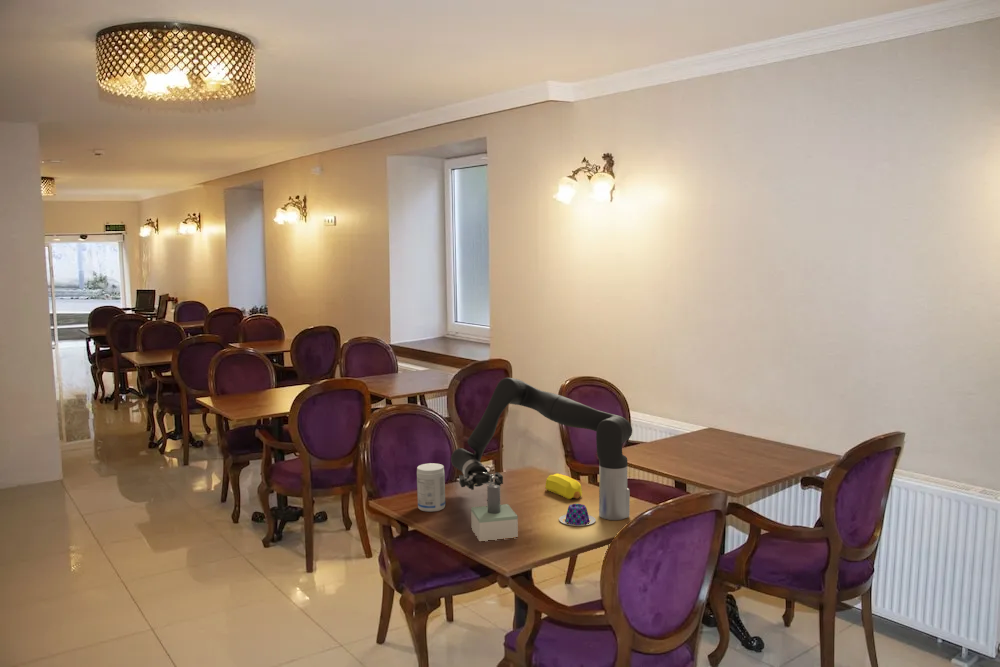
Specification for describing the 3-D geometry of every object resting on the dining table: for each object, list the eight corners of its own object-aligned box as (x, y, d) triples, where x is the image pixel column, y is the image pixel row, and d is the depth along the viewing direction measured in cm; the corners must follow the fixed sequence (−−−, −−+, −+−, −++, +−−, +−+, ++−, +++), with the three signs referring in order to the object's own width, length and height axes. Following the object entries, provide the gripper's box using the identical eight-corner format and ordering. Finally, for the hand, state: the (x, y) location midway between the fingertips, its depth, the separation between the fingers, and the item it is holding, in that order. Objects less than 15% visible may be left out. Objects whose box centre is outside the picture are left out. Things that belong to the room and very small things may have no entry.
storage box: (507, 525, 247) (507, 507, 247) (517, 538, 236) (517, 519, 235) (471, 528, 245) (471, 510, 244) (479, 541, 233) (479, 522, 232)
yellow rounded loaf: (557, 486, 290) (540, 490, 286) (557, 469, 289) (540, 472, 285) (587, 498, 275) (570, 502, 271) (587, 480, 274) (570, 484, 270)
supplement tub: (435, 502, 272) (434, 461, 271) (450, 508, 265) (450, 466, 263) (412, 507, 266) (411, 466, 265) (427, 514, 259) (426, 471, 257)
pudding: (555, 516, 256) (555, 501, 256) (590, 514, 258) (590, 499, 257) (563, 528, 244) (563, 512, 244) (599, 526, 246) (599, 511, 245)
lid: (507, 511, 247) (507, 479, 246) (517, 523, 235) (517, 490, 234) (471, 515, 244) (470, 482, 243) (479, 527, 233) (479, 493, 232)
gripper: (454, 463, 263) (464, 476, 248) (494, 460, 267) (506, 472, 251) (454, 484, 264) (464, 498, 248) (495, 481, 267) (506, 495, 252)
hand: (485, 485), depth 250 cm, fingers open, 8 cm apart
